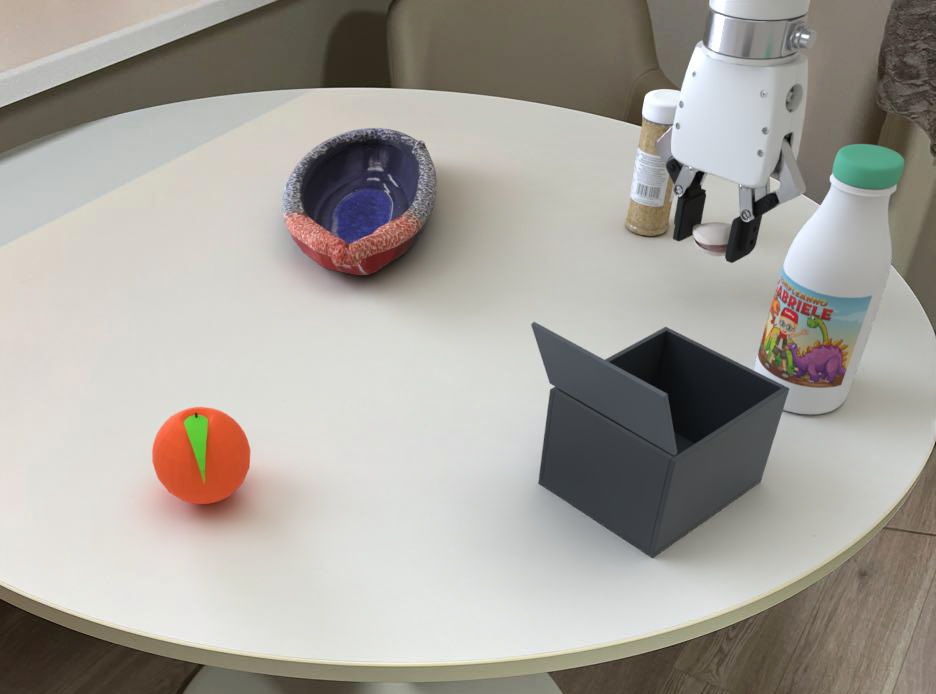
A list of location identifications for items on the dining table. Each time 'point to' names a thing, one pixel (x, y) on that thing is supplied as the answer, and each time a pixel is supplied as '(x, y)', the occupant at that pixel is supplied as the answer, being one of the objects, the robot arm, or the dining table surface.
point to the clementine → (201, 455)
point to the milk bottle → (832, 284)
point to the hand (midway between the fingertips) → (711, 244)
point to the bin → (652, 468)
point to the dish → (360, 199)
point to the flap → (607, 388)
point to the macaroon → (712, 237)
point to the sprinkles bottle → (652, 168)
